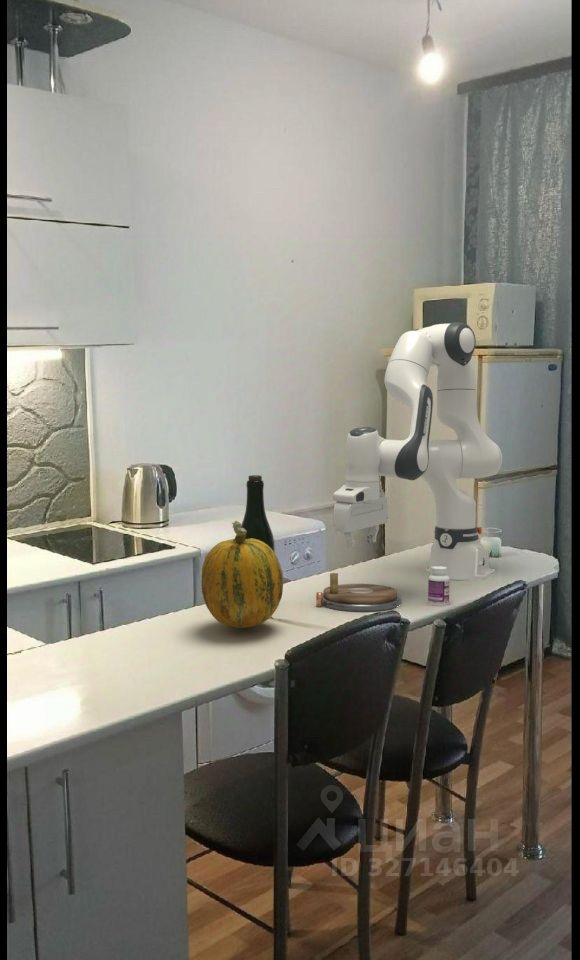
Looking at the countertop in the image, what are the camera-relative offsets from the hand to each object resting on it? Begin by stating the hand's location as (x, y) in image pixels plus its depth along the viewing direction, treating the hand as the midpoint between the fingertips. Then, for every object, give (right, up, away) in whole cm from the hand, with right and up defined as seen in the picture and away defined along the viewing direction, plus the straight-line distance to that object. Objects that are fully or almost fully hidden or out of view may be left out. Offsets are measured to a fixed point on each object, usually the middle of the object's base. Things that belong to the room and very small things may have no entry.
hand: (361, 545), depth 237 cm
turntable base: (0, -15, +1) cm, 15 cm away
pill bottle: (+19, -15, -2) cm, 25 cm away
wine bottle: (-27, -15, -1) cm, 31 cm away
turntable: (0, -13, +1) cm, 13 cm away
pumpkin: (-29, -17, -22) cm, 41 cm away
